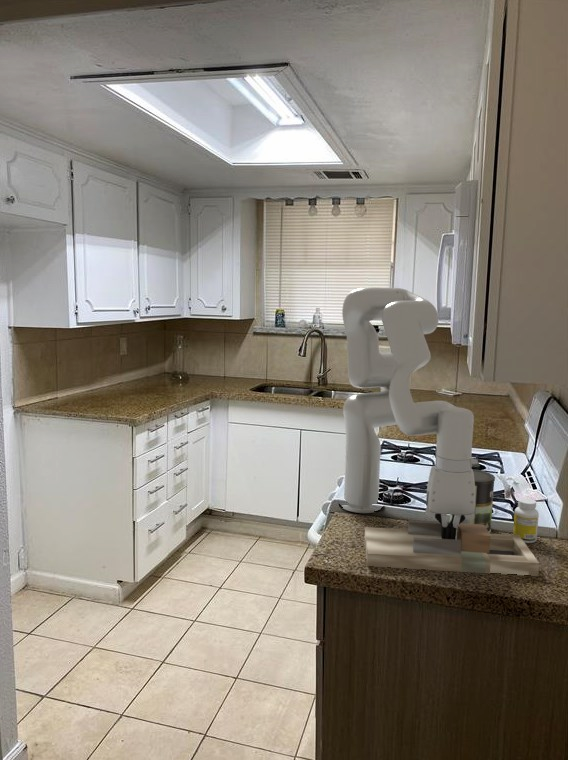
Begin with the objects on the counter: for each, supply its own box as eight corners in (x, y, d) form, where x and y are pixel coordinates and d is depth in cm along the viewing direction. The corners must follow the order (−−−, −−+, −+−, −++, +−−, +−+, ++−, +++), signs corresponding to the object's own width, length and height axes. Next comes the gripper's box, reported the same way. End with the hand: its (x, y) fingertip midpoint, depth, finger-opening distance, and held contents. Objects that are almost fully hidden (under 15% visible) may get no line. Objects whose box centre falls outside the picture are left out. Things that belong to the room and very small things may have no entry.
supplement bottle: (518, 532, 145) (521, 495, 143) (540, 539, 141) (543, 500, 139) (508, 538, 141) (511, 500, 140) (530, 545, 137) (534, 506, 136)
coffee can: (487, 522, 151) (491, 470, 149) (493, 538, 141) (498, 483, 139) (447, 518, 153) (450, 467, 151) (450, 534, 143) (453, 479, 141)
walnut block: (456, 539, 133) (457, 523, 132) (483, 541, 132) (484, 524, 132) (461, 551, 127) (462, 534, 126) (489, 553, 126) (490, 535, 126)
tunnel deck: (364, 538, 140) (365, 515, 139) (518, 547, 136) (520, 523, 135) (367, 566, 126) (368, 540, 125) (538, 576, 123) (540, 549, 122)
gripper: (483, 460, 131) (478, 536, 133) (416, 457, 132) (412, 533, 135) (492, 470, 123) (486, 551, 126) (420, 467, 125) (416, 547, 127)
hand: (448, 541), depth 130 cm, fingers closed
